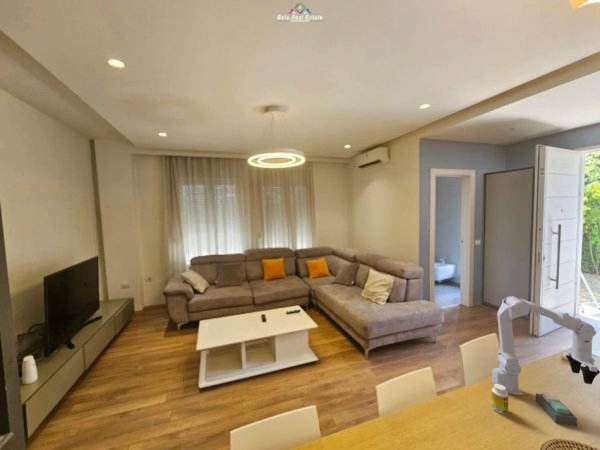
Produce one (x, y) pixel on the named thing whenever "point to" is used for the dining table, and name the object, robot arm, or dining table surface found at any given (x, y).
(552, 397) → the key cream
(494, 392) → the supplement bottle
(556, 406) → the key teal
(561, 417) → the bezel
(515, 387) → the robot arm
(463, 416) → the dining table surface
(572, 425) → the board
